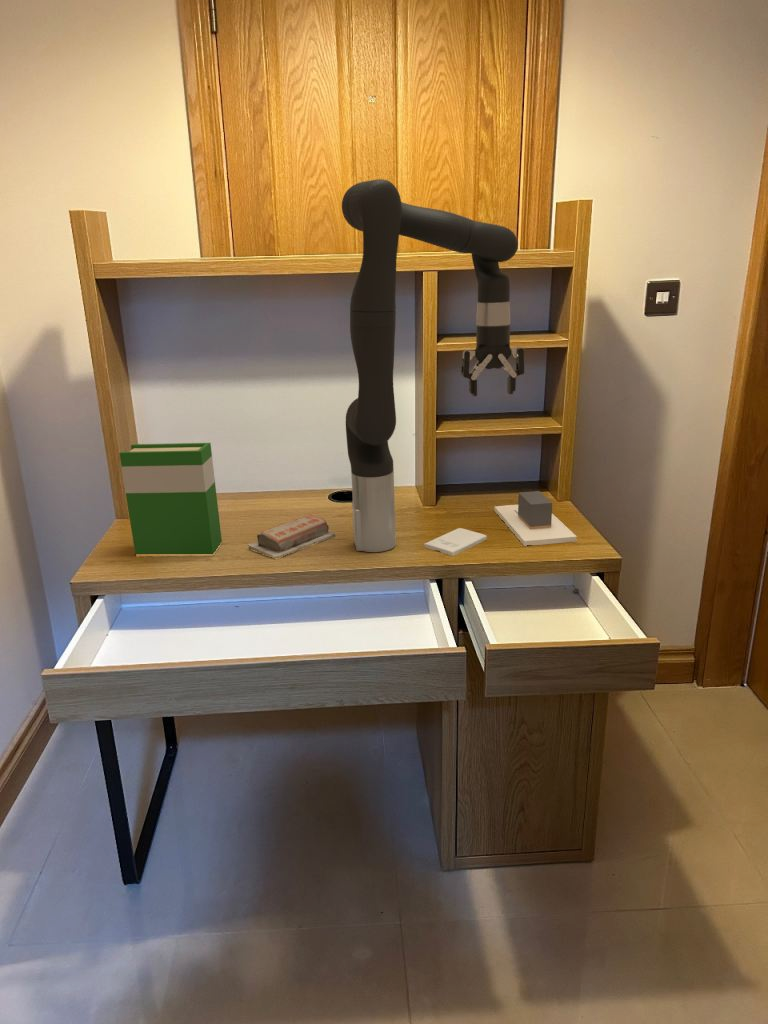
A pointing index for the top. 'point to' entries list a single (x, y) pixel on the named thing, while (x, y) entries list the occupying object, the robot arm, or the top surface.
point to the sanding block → (534, 510)
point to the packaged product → (292, 536)
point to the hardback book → (171, 498)
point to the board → (534, 536)
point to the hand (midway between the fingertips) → (492, 394)
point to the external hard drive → (455, 541)
